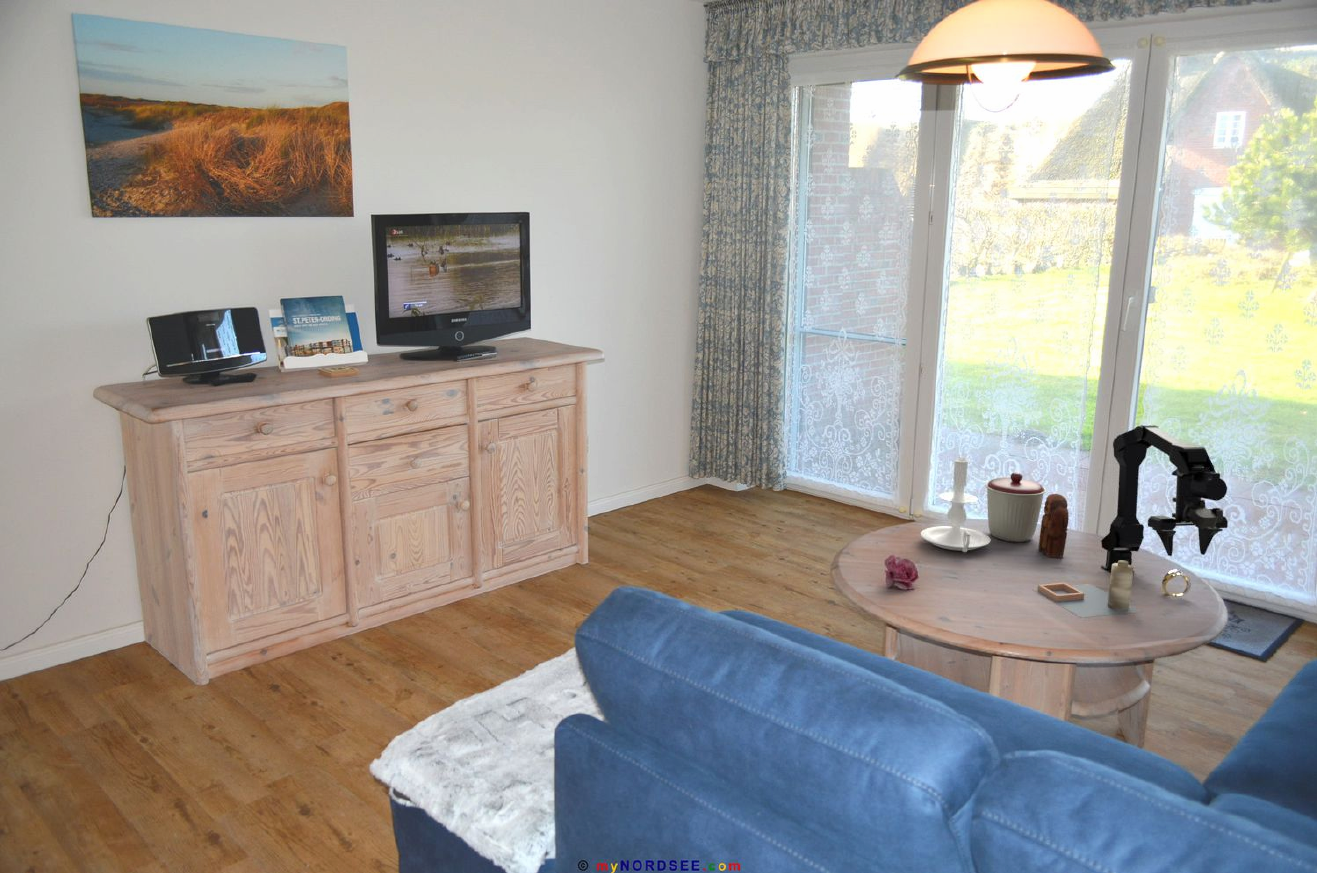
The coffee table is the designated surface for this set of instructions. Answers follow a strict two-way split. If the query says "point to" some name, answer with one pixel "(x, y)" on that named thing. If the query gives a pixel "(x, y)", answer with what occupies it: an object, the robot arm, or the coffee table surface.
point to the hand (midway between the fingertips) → (1186, 555)
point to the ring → (1176, 573)
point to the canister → (1013, 507)
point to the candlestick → (957, 517)
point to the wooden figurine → (1054, 526)
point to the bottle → (1120, 586)
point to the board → (1081, 599)
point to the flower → (900, 572)
